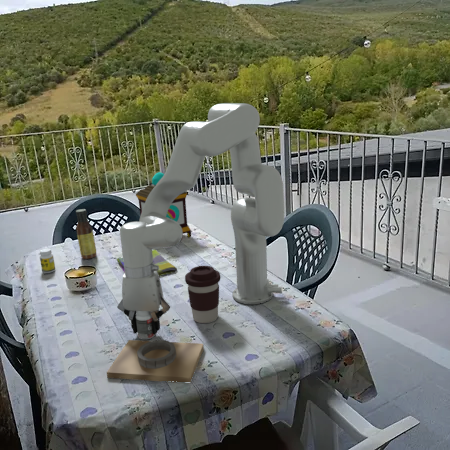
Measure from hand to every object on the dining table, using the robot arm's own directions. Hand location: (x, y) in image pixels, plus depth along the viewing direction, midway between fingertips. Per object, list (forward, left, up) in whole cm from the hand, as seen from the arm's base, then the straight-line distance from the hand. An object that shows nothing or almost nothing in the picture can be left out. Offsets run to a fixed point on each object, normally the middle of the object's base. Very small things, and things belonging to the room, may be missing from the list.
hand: (146, 330), depth 121 cm
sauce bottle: (+45, -57, -2) cm, 73 cm away
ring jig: (-7, +12, -1) cm, 14 cm away
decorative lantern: (+20, -82, -2) cm, 84 cm away
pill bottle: (0, 0, -2) cm, 2 cm away
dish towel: (+17, -48, -2) cm, 51 cm away
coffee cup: (-14, -11, -2) cm, 18 cm away
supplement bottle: (+54, -42, -2) cm, 68 cm away
